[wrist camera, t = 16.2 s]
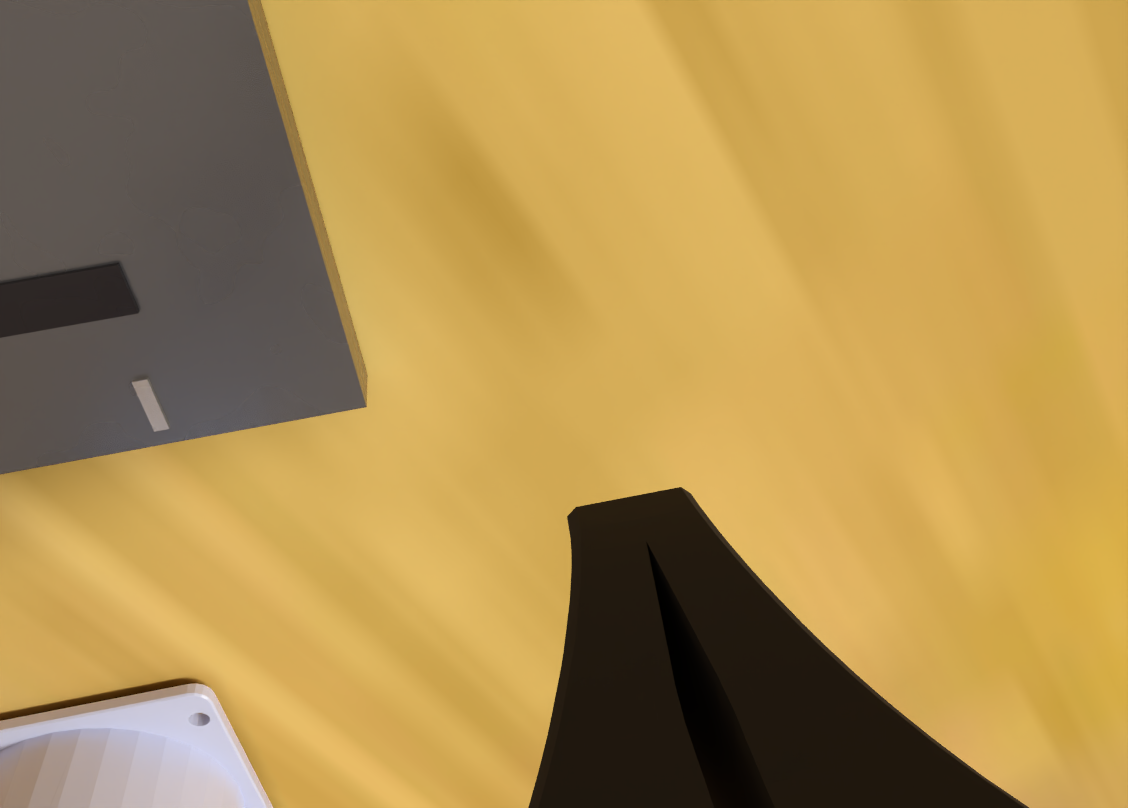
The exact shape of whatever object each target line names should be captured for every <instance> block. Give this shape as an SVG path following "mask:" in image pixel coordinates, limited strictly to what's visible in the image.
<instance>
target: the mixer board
mask: <svg viewBox="0 0 1128 808" xmlns="http://www.w3.org/2000/svg"><path fill="white" fill-rule="evenodd" d="M364 407H367V372H366V368H365V365H364V361H363V358H362V354H361V351H360V347H359V344H358V340H357V337H356V333H355V330H354V326H353V323H352V319H351V316H350V312H349V309H348V305H347V302H346V298H345V295H344V291H343V288H342V284H341V281H340V277H339V274H338V270H337V267H336V263H335V260H334V256H333V253H332V249H331V246H330V242H329V239H328V235H327V232H326V228H325V225H324V221H323V218H322V214H321V211H320V207H319V204H318V200H317V197H316V193H315V190H314V186H313V183H312V179H311V176H310V172H309V169H308V165H307V162H306V158H305V155H304V151H303V148H302V144H301V141H300V137H299V134H298V130H297V127H296V123H295V120H294V116H293V113H292V109H291V106H290V102H289V99H288V95H287V92H286V88H285V85H284V81H283V78H282V74H281V71H280V67H279V64H278V60H277V57H276V53H275V50H274V46H273V43H272V39H271V36H270V32H269V29H268V25H267V22H266V18H265V15H264V11H263V8H262V4H261V1H260V0H0V474H5V473H10V472H15V471H21V470H26V469H32V468H37V467H43V466H48V465H53V464H59V463H64V462H70V461H75V460H81V459H86V458H92V457H97V456H102V455H108V454H113V453H119V452H124V451H130V450H135V449H141V448H146V447H151V446H157V445H162V444H168V443H173V442H179V441H184V440H189V439H195V438H200V437H206V436H211V435H217V434H222V433H228V432H233V431H238V430H244V429H249V428H255V427H260V426H266V425H271V424H277V423H282V422H287V421H293V420H298V419H304V418H309V417H315V416H320V415H326V414H331V413H336V412H342V411H347V410H353V409H358V408H364Z"/></svg>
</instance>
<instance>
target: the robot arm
mask: <svg viewBox="0 0 1128 808" xmlns="http://www.w3.org/2000/svg"><path fill="white" fill-rule="evenodd" d="M567 518H568V525H569V531H570V537H571V549H572V574H571V591H570V605H569V613H568V621H567V630H566V638H565V646H564V654H563V660H562V666H561V672H560V677H559V682H558V687H557V692H556V697H555V702H554V707H553V712H552V717H551V722H550V727H549V732H548V736H547V740H546V744H545V748H544V752H543V757H542V761H541V764H540V768H539V772H538V776H537V780H536V783H535V787H534V790H533V794H532V797H531V801H530V804H529V808H1029V807H1027V806H1026V805H1024V804H1023V803H1021V802H1020V801H1018V800H1017V799H1016V798H1014V797H1013V796H1011V795H1010V794H1008V793H1007V792H1005V791H1004V790H1002V789H1001V788H999V787H998V786H996V785H995V784H993V783H992V782H990V781H989V780H988V779H986V778H985V777H983V776H982V775H981V774H979V773H978V772H976V771H975V770H974V769H972V768H971V767H970V766H968V765H967V764H966V763H964V762H963V761H962V760H961V759H959V758H958V757H957V756H955V755H954V754H953V753H951V752H950V751H949V750H947V749H946V748H945V747H943V746H942V745H941V744H939V743H938V742H937V741H935V740H934V739H933V738H931V737H930V736H929V735H928V734H927V733H925V732H924V731H923V730H922V729H920V728H919V727H918V726H917V725H915V724H914V723H913V722H912V721H910V720H909V719H908V718H907V717H905V716H904V715H903V714H902V713H900V712H899V711H898V710H897V709H896V708H894V707H893V706H892V705H891V704H890V703H888V702H887V701H886V700H885V699H884V698H883V697H881V696H880V695H879V694H878V693H877V692H876V691H874V690H873V689H872V688H871V687H870V686H869V685H868V684H866V683H865V682H864V681H863V680H862V679H861V678H860V677H859V676H857V675H856V674H855V673H854V672H853V671H852V670H851V669H850V668H849V667H848V666H847V665H845V664H844V663H843V662H842V661H841V660H840V659H839V658H838V657H837V656H836V655H835V654H834V653H833V652H831V651H830V650H829V649H828V648H827V647H826V646H825V645H824V644H823V643H822V642H821V641H820V640H819V639H818V638H817V637H816V636H815V635H814V634H813V633H812V632H811V631H810V630H809V629H808V628H807V627H806V626H805V625H804V624H802V623H801V622H800V620H799V619H798V618H797V617H796V616H795V615H794V614H793V613H792V612H791V611H790V610H789V609H788V608H787V607H786V606H785V605H784V604H783V603H782V602H781V601H780V600H779V599H778V598H777V596H776V595H775V594H774V593H773V592H772V591H771V590H770V589H769V588H768V587H767V586H766V585H765V584H764V583H763V582H762V581H761V580H760V578H759V577H758V576H757V575H756V574H755V573H754V572H753V571H752V570H751V568H750V567H749V566H748V565H747V564H746V563H745V562H744V560H743V559H742V558H741V557H740V556H739V555H738V553H737V552H736V551H735V550H734V549H733V548H732V546H731V545H730V544H729V543H728V542H727V540H726V539H725V538H724V537H723V536H722V534H721V533H720V532H719V531H718V529H717V528H716V527H715V526H714V524H713V523H712V522H711V521H710V519H709V518H708V517H707V515H706V514H705V513H704V511H703V510H702V509H701V507H700V506H699V505H698V503H697V502H696V500H695V499H694V498H693V496H692V495H691V493H689V492H688V491H686V490H685V489H683V488H681V487H679V488H674V489H669V490H663V491H658V492H653V493H648V494H642V495H637V496H632V497H627V498H622V499H616V500H611V501H606V502H601V503H595V504H590V505H585V506H580V507H576V508H575V509H574V510H573V511H572V512H571V513H570V514H569V515H568V516H567ZM199 713H201V714H199ZM0 808H273V806H272V804H271V802H270V800H269V799H268V797H267V795H266V793H265V791H264V789H263V787H262V785H261V783H260V781H259V779H258V777H257V775H256V773H255V771H254V769H253V767H252V765H251V763H250V761H249V759H248V758H247V756H246V754H245V752H244V750H243V748H242V746H241V744H240V742H239V740H238V738H237V736H236V734H235V732H234V730H233V728H232V726H231V724H230V722H229V720H228V718H227V717H226V715H225V713H224V711H223V709H222V707H221V705H220V703H219V701H218V699H217V697H216V695H215V693H214V692H213V691H212V689H211V688H209V687H207V686H205V685H203V684H198V683H193V684H185V685H180V686H175V687H170V688H165V689H160V690H155V691H150V692H145V693H140V694H134V695H129V696H124V697H119V698H114V699H109V700H104V701H99V702H94V703H89V704H84V705H79V706H73V707H68V708H63V709H58V710H53V711H48V712H43V713H38V714H33V715H28V716H23V717H17V718H12V719H7V720H2V721H0Z"/></svg>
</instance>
